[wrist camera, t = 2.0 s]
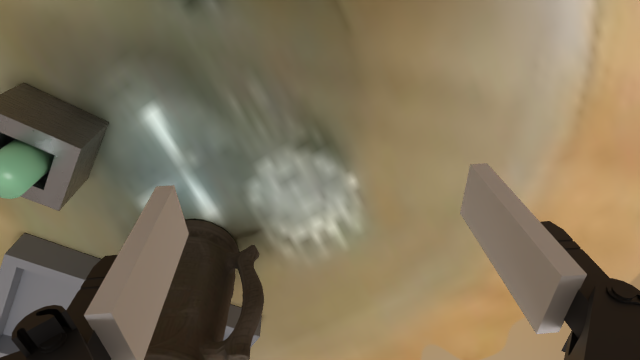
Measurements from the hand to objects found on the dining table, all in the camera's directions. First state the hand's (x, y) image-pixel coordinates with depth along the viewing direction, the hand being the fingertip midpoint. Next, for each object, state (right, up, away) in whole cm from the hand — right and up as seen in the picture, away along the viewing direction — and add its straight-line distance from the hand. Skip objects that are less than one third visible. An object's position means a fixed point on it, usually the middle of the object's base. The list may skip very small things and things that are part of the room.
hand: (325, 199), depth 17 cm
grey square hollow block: (-28, +6, +22) cm, 36 cm away
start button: (-27, +4, +19) cm, 34 cm away
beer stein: (-14, -7, +31) cm, 35 cm away
